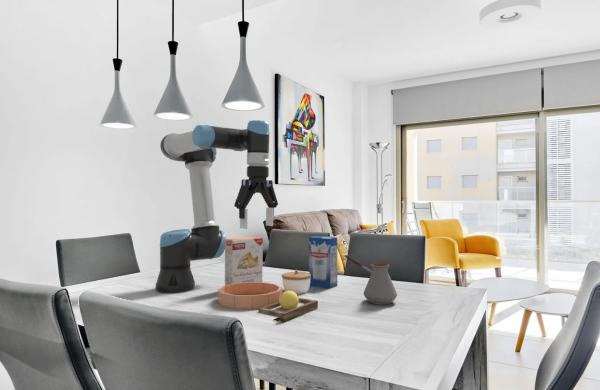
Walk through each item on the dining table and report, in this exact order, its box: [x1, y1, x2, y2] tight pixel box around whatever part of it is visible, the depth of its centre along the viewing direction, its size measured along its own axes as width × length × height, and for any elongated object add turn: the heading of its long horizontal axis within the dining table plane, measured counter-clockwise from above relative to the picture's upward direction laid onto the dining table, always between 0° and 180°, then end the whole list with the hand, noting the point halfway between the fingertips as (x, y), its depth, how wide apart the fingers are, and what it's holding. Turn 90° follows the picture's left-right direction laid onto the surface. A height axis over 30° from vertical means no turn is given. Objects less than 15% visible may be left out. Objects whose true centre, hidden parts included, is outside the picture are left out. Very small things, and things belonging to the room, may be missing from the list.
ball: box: [280, 291, 300, 311], centre depth 128 cm, size 6×6×6 cm
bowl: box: [217, 281, 283, 310], centre depth 138 cm, size 21×21×6 cm
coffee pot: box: [342, 254, 398, 306], centre depth 144 cm, size 21×12×15 cm, turn 47°
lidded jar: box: [281, 269, 311, 295], centre depth 151 cm, size 11×11×9 cm
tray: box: [257, 297, 319, 323], centre depth 128 cm, size 10×18×2 cm, turn 145°
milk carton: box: [308, 235, 338, 290], centre depth 167 cm, size 10×6×20 cm, turn 58°
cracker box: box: [224, 236, 264, 286], centre depth 156 cm, size 14×6×21 cm, turn 131°
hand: (257, 227), depth 141 cm, fingers open, 13 cm apart
